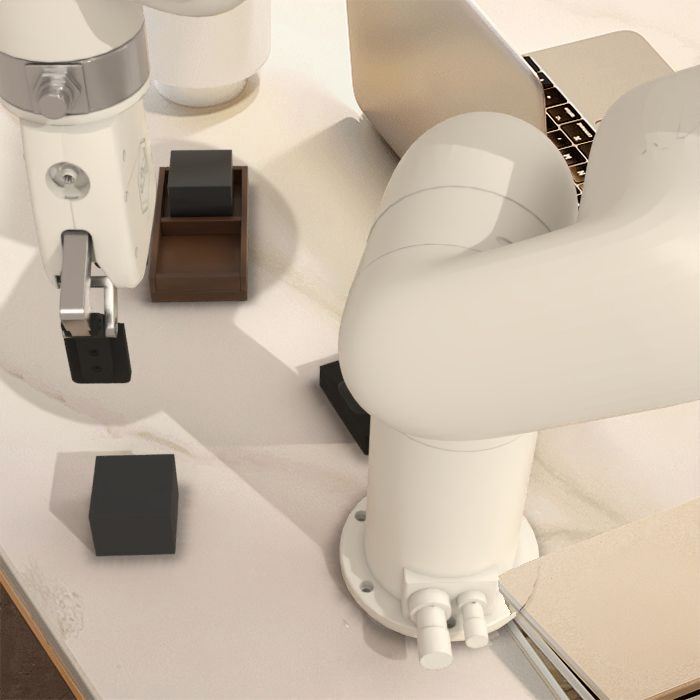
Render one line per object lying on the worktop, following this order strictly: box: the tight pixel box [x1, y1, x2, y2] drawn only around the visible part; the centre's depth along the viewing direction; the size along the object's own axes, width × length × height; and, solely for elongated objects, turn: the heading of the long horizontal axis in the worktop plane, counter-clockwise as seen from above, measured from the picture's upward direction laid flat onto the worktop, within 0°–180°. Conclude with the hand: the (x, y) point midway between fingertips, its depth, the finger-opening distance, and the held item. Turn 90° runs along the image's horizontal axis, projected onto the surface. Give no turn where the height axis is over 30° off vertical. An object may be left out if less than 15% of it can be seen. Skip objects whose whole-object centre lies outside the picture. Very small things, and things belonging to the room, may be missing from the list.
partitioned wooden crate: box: [148, 149, 250, 303], centre depth 102 cm, size 14×7×5 cm, turn 3°
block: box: [88, 453, 180, 557], centre depth 81 cm, size 5×5×4 cm
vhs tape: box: [318, 359, 371, 456], centre depth 91 cm, size 8×14×2 cm, turn 116°
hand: (112, 319), depth 73 cm, fingers open, 9 cm apart
